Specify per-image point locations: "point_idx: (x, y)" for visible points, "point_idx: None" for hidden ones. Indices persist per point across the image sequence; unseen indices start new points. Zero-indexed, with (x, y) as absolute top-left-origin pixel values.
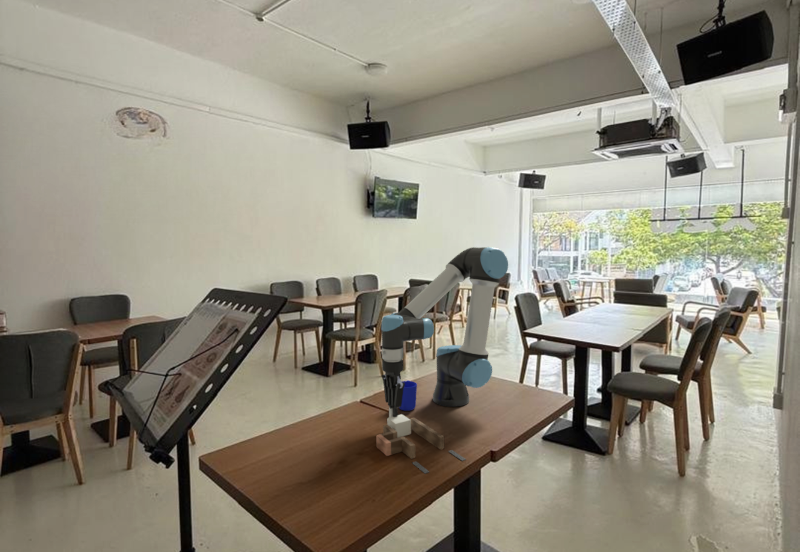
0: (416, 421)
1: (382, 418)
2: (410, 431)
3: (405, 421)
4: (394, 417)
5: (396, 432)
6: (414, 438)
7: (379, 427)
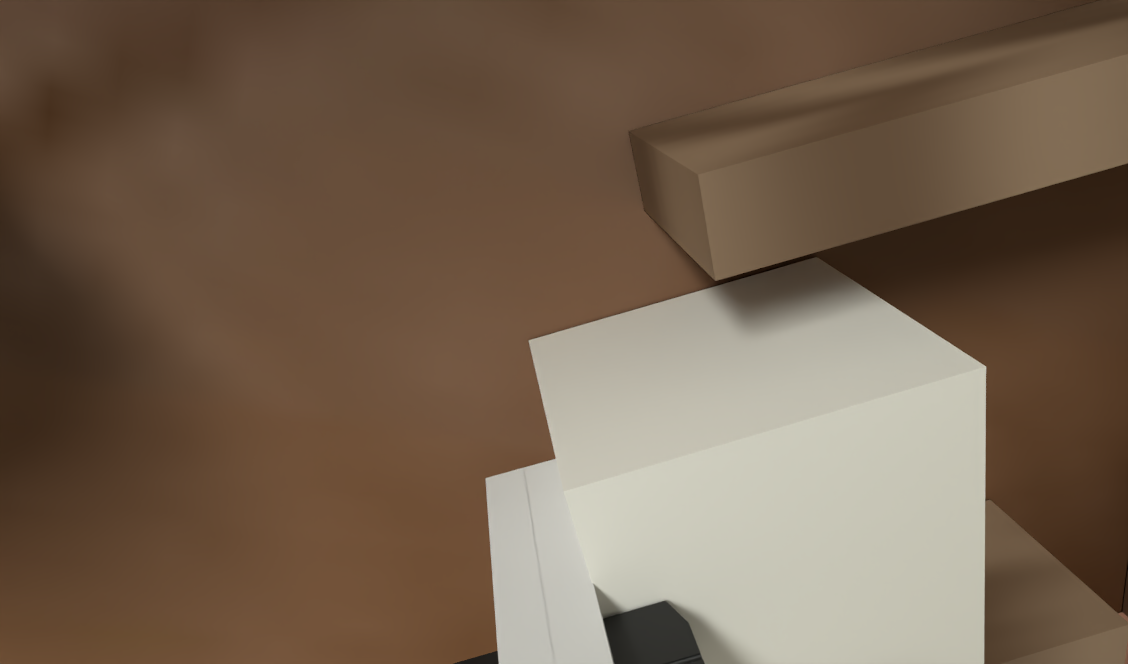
0: (949, 189)
1: (26, 572)
2: (837, 278)
3: (979, 484)
4: None
5: (1121, 628)
6: (982, 244)
7: (409, 641)
